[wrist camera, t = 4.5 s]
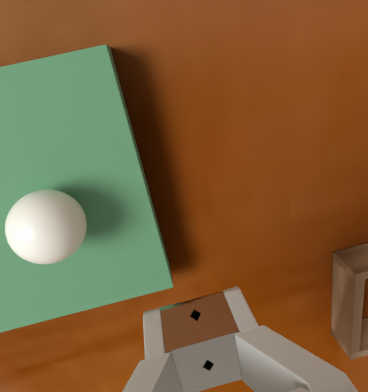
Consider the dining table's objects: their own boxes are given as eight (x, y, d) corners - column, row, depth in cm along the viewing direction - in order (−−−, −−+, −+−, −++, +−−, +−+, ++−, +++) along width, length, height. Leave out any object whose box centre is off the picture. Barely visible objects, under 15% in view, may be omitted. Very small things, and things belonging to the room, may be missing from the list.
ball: (78, 171, 17) (63, 200, 14) (99, 229, 19) (91, 268, 15) (8, 188, 17) (-26, 221, 13) (37, 245, 19) (13, 288, 15)
